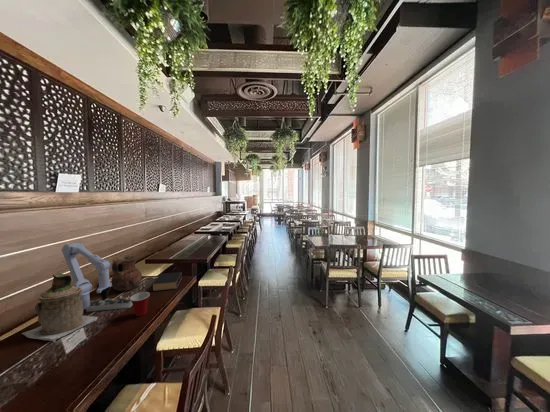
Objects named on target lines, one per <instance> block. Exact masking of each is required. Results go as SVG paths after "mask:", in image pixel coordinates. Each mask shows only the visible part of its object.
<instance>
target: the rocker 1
mask: <svg viewBox="0 0 550 412" xmlns="http://www.w3.org/2000/svg"><path fill="white" fill-rule="evenodd" d="M101 299H102V298H98V299H95V300H90V305H92V304H93V303H95V304H96V303H98V302H100V301H102V300H101Z"/></svg>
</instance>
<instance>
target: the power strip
mask: <svg viewBox="0 0 550 412" xmlns="http://www.w3.org/2000/svg"><path fill="white" fill-rule="evenodd" d="M128 298H129V300H128V301H123V300H122V301H119V298H114V299H115V301H114V302H110V303H109V302H105V300H101V301H100V302H98V303H96V304H95V303H93V304H92V305H90V304H89V305H88V306H86V309H85V312H86V313H89V312H100V311H110V310H112V311H113V310H121V309H129V308H131V307H132V306H133V304H132V301H131V300H130V297H128Z"/></svg>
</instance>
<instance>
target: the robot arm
mask: <svg viewBox="0 0 550 412" xmlns="http://www.w3.org/2000/svg"><path fill="white" fill-rule="evenodd" d="M61 252H62V255H63V257H64V260H65V262H66V264H67V265H66V266H67V267H68V270H69V272H70V276H71V279H72V280H73V284H71V286H75V287H81V288H82V292H81V293H80V294H81V299H82V303H83V311H84V310H86V306H88V305H89V304H90V302H91V299H90V298H91V297H90V293H91V291H92V289H93V285H92V283H90V281H89V279H86V278H85V277H84V274H83V272H82V269H81V268H80V267H81V266H80V264H79V262H78V259H77V256H78V255H81V256H83V257H85V258H86V259H87V260H88V262H89V263H90V264H92V265H93V266H94V267H95V270H96V272H97V275H98V287H97V289H96V294H100V297H101V299H102V301H104V300H105V299H107V298H109V294H110V291H111V287H113V285H112V282H111V281H110V268H112V263H111V261H109V260H108V259H103V258H102V257H100V256H99V255H98V254H93V253H92V252H91V251H89V250H88V248H86V247H85V244H83V242H81V241H78V242H74V243H68V244H64V245H63V247H62V248H61Z"/></svg>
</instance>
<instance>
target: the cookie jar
mask: <svg viewBox="0 0 550 412" xmlns="http://www.w3.org/2000/svg"><path fill="white" fill-rule="evenodd" d="M52 277H53V278H52V283H51V287H50V288H48V289H47V290H46V291H44V292H42V293H41V294H40V295H39V297H38V301H40V302H37V303H36V305H35V306H34V309H35V313H36V315H37V321H38V323H39V324H40V326H37V327H35V328H32V329H30V330H27V331H24V332H22V333H21V335H24V336H25V337H26V338H28V339H35V340H42V341H50V342H53V343H56V340H59V339H62V337H65V336H67V335H69V334H71V333H73V332H75V331H77V330H79V329H81V328H83V327H85V326H88V325H90V324H92V323H94V321H95V322H97V320H98V316H93V315H91V316H90V315H84V310H83V303H82V299H81V294H80V293H81V292H82V288H81V287H75V286H72V284H71V283H72V275H71V274H65V273H59V272H58V273H56V274H52Z"/></svg>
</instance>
